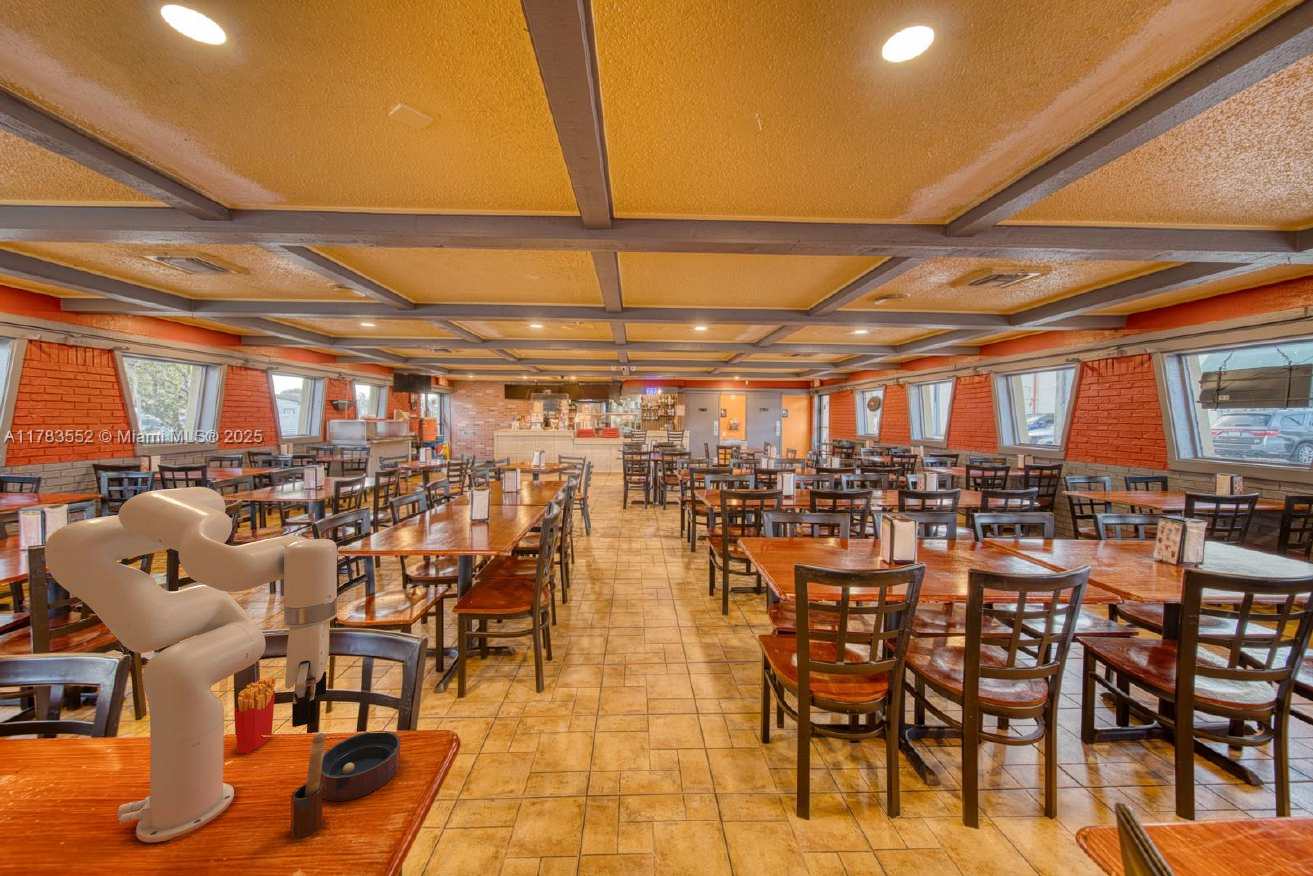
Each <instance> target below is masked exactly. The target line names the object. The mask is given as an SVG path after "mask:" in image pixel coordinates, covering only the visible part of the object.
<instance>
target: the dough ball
mask: <svg viewBox="0 0 1313 876" xmlns="http://www.w3.org/2000/svg"><path fill="white" fill-rule="evenodd" d="M353 770H354V764H353V763H347V764H346V765H345V766H344V768H343V773H344V774H345V775H348V774H350V773H352V772H353Z"/></svg>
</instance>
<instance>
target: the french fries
mask: <svg viewBox="0 0 1313 876" xmlns="http://www.w3.org/2000/svg"><path fill="white" fill-rule="evenodd" d="M276 680H277V679H276V678H274V677H272V678H269V677H266V678H265V679H261V678H260V679H259V680H258V681H255V682H253V681H252V682H250V683H249V684H247V685H246V686H245V687H246V688H244V689H243V690H240V692H237V693H238V694H237V695H238V697H237V704H238V705H237V707H235V709H234V712H233V713H234V726H235V739H236V752H237V754H239V755H241V754H249V753H252V752H254V751H257V750H258V749H259V748H260V747H262V746H263V745H264V744H266V743H267V742H268V741H269V740H271V739H272V737H263V736H261V735H273V725H274V709H275V698H276V690H275V686H276Z"/></svg>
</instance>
